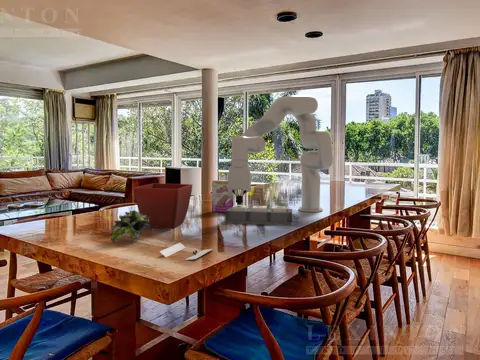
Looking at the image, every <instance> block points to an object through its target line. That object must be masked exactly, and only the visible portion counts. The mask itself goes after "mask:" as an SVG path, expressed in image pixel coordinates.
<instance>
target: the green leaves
mask: <svg viewBox="0 0 480 360" xmlns="http://www.w3.org/2000/svg"><path fill="white" fill-rule="evenodd" d="M118 218H119V219H120V220H114V223H115V224H113V225H112V227H111V231H114V232H113V233H112V235H111V237H110V241H111V242H112V243H114V241H115V240H119V239H120V238H122V237H123V236H125V235H127V234H129V236H130V237H131V238H134V239H135V242H134V243H135V244H136V243H137V240H138V239H139V236H140V235H141V234H142V230H143V229H144V228H151V227H150V225H149V224H147V223H148V222H149V221H150V220H149V219H150V216H149V217H148V218H147V215H142V213H141V214H140V212H139V211H136V210H135V209H133V210H130V211H129V212H128V211H124V214H123V215H121V214H119V215H118ZM144 218H145V219H144ZM146 219H147V220H146ZM115 229H116V230H115Z"/></svg>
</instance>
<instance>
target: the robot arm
mask: <svg viewBox="0 0 480 360" xmlns="http://www.w3.org/2000/svg"><path fill="white" fill-rule="evenodd" d="M318 106H319V104H318V100H317V99H316V98H315V97H314V96H312V95H288V96H287V95H286V96H281V97H277V99H275V100H274V102H272V104H271V106H270V107H269V108H268V109H267V110H266V112H265V113H264V115H263V116H261V118H260V119H258V120H257V121H256V122H254V123H253V124H251V125H250V126H249V127H247V129H246V130H245V131H244V132H243V133H242V135H241V136H239V135H236V136H233V137H232V138H231V159H230V160H228V161H227V162H228V165H230V166H229V169H228V174H227V176H228V177H227V180H228V191H230V192H233V193H234V197H235V204H236V205H242V204H243V202H244V195H245V194H246V193H250V192H252V178H251V177H252V176H251V174H252V173H251V167H249V154H258V153H262V152H263V151H264V150H265V149H266V144H267V143H266V141H265V139H264V138H263V137H262V136H264V135H266V134H269V133H271V132H273V131H275V130H276V129H278V127H279V125H280V124H281V123H282V121H283V120H284V119H285V117H286V116H287V115H292V116H293V117H294V118H295V119H296V121H297V122H298V126H299V133H300V135H299V136H300V142H301V143H300V144H301V145H302V147H303V148H305V149H311V150H308V151H307V150H306V151H303V153H302V154H301V156H300V159H299V161H300V167H301V206H299V207H298V211H300V212H305V213H317V212H322V211H323V210H324V209H323V207H321V201H320V200H321V174H320V173H319V170H321V171H322V170H328V169H330V168H331V167H332V165H333V161H334V157H333V156H334V155H333V146H332V137H331V135H330V133H329V131H327V130H326V129H317V124H316V119H315V118H316V117H315V116H314V115H313V114H314V113H315V112H316V111H317V110H318ZM312 149H315V150H312ZM316 149H317V150H316ZM239 190H240V194H239ZM323 212H324V211H323Z"/></svg>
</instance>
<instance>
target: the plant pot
mask: <svg viewBox="0 0 480 360" xmlns="http://www.w3.org/2000/svg"><path fill="white" fill-rule="evenodd" d="M192 192H193V184H190V183H188V184H186V183H154V182H153V183H148V184H144V185H139V186H135V187H133V193H134V198H135V201H136V205H137V209H138V213H140V214H141V213H142V215H147V218H148V217H149V216H150V219H149V220H150V221H149V222H148V223H147V224H149V225H150V227H149V228H159V229H175V228H176V227H178V226H180V225H182V224H183V223H185V219H186V216H187V213H188V210H189V206H190V202H191V197H192ZM144 219H145V218H144ZM146 220H147V219H146Z"/></svg>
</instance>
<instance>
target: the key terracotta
mask: <svg viewBox="0 0 480 360" xmlns="http://www.w3.org/2000/svg"><path fill="white" fill-rule="evenodd" d="M251 208H252V211H261V212H267V208H268V207H267V205H253V206H252V207H251Z"/></svg>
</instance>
